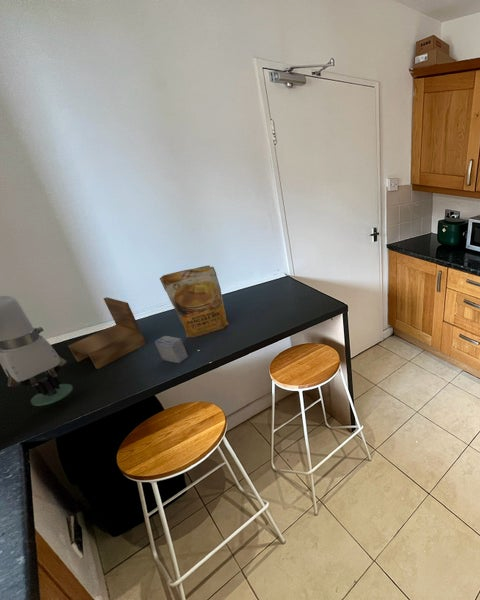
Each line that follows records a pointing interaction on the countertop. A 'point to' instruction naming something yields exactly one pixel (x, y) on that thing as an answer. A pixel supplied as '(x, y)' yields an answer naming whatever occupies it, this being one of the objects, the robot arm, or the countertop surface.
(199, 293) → the pancake mix bag
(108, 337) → the wooden bookend
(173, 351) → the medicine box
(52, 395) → the lid
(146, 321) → the countertop surface
